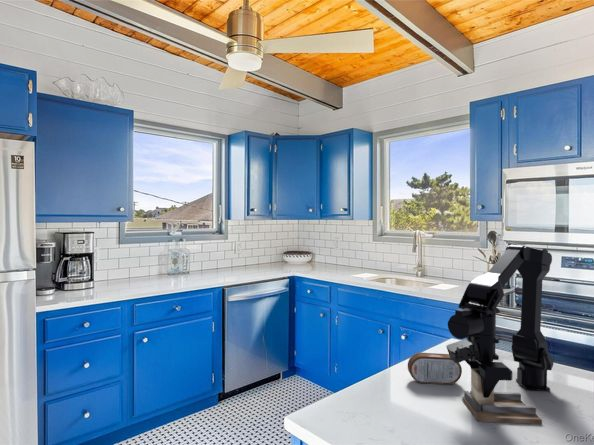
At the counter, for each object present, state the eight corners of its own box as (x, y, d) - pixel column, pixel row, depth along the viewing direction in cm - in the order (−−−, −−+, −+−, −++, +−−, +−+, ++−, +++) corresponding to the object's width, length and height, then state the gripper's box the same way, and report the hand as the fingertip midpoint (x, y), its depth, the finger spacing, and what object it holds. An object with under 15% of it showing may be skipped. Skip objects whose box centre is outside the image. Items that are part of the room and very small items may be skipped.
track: (518, 402, 101) (519, 392, 101) (541, 423, 91) (542, 413, 90) (462, 400, 102) (462, 390, 102) (478, 421, 91) (478, 410, 91)
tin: (459, 381, 113) (459, 353, 113) (462, 386, 110) (463, 357, 110) (407, 379, 115) (407, 351, 115) (409, 383, 112) (409, 355, 112)
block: (487, 399, 99) (487, 368, 99) (494, 407, 95) (494, 375, 95) (471, 399, 100) (471, 368, 100) (477, 406, 96) (477, 374, 96)
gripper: (438, 321, 107) (438, 377, 107) (463, 343, 89) (463, 411, 89) (480, 322, 106) (479, 378, 107) (514, 344, 88) (513, 412, 88)
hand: (482, 393), depth 98 cm, fingers closed on block, 4 cm apart
